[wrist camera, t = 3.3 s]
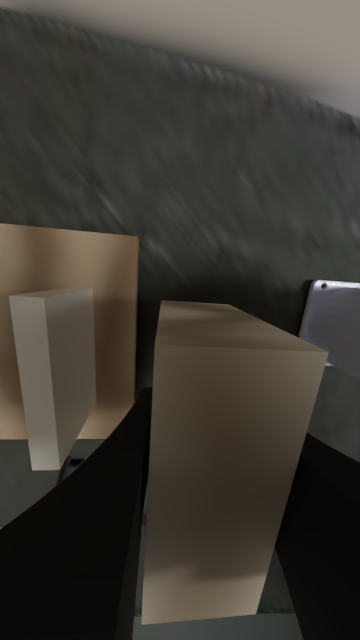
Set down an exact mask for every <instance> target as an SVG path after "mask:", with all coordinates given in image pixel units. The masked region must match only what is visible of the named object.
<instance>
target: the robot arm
mask: <svg viewBox="0 0 360 640" xmlns="http://www.w3.org/2000/svg"><path fill="white" fill-rule="evenodd" d="M322 284H323V288H321V286H322ZM298 338H300V339H302V340H304V341H306V342H309V343H311V344H313V345H315V346H317V347H319V348H321V349H323V350H325V351H327V352H329V353H328V357H327V361H326V364H325V366H335V367H337V368H339V369H340V370H342V371H344V372H346V373H348V374H350V375H352V376H353V377H355V378H357V379H359V380H360V283H351V282H339V281H327V280H314V281H313V282H312V283H311V285H310V289H309V294H308V298H307V302H306V307H305V311H304V315H303V319H302V324H301V328H300V332H299V337H298ZM152 394H153V388H146V387H144V388H143V389H142V391H141V393H140V395H139V396H138V398H137V400H136V401H135V403H134V404H133V406H132V407H131V409H130V410H129V411H128V413H127V414H126V416H125V417H124V418H123V419H122V421H121V422H120V423H119V424H118V426H117V427H116V428H115V429H114V431H113V432H112V433H111V434H110V435H109V436H108V437H107V439H106V440H105V441H104V442H103V443H102V444H101V445H100V446H99V447H98V448H97V449H96V450H95V451H94V452H93V453H92V454H91V455H90V456H89V457H88V458H87V459H86V460H85V461H84V462H83V463H82V464H81V465H80V466H79V467H78V468H76V469H75V470H74V471H73V472H72V473H71V474H70V475H69V476H68V477H66V478H65V479H64V480H63V481H62V482H60V483H59V484H58V485H57V486H56V487H54V488H53V489H52V490H51V491H50V492H48V493H47V494H46V495H45V496H44V497H42V498H41V499H40V500H39V501H37V502H36V503H35V504H34V505H32V506H31V507H30V508H29V509H27V510H26V511H25V512H23V513H22V514H20V515H19V516H18V517H16V518H15V519H14V520H12V521H11V522H10V523H8V524H7V525H6V526H4V527H3V528H1V529H0V640H132V634H133V622H134V621H133V620H134V610H135V598H136V586H137V575H138V563H139V551H140V540H141V529H142V517H143V508H144V500H145V493H146V487H147V481H148V474H149V457H150V436H151V415H152ZM275 548H276V551H277V554H278V557H279V561H280V564H281V567H282V570H283V573H284V576H285V579H286V583H287V586H288V589H289V593H290V596H291V599H292V603H293V606H294V609H295V613H296V616H297V619H298V622H299V626H300V629H301V633H302V636H303V640H360V463H359V462H357V461H355V460H354V459H352V458H350V457H348V456H346V455H344V454H342V453H340V452H339V451H337V450H335V449H333V448H332V447H330V446H328V445H326V444H325V443H323V442H321V441H320V440H318V439H316V438H315V437H313V436H311V435H310V434H308V433H307V432H306V436H305V439H304V443H303V446H302V450H301V454H300V457H299V461H298V464H297V468H296V471H295V475H294V479H293V482H292V486H291V489H290V493H289V496H288V500H287V504H286V507H285V511H284V514H283V518H282V521H281V525H280V529H279V532H278V536H277V539H276V543H275Z"/></svg>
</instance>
